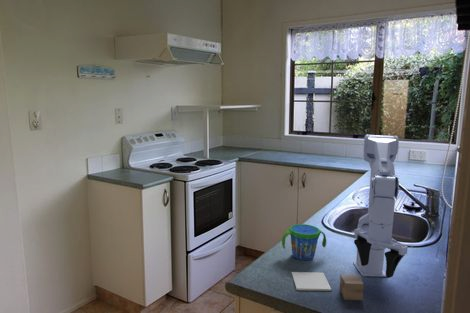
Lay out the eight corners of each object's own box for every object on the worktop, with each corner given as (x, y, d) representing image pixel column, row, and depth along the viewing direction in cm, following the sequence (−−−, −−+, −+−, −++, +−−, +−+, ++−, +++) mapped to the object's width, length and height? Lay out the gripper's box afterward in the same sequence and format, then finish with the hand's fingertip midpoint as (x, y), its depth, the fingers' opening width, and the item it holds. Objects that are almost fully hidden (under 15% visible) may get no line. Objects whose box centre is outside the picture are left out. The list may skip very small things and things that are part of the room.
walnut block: (339, 290, 107) (340, 274, 106) (356, 291, 107) (357, 274, 106) (344, 300, 102) (345, 283, 101) (362, 300, 102) (363, 283, 101)
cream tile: (291, 273, 116) (291, 271, 116) (323, 274, 116) (323, 272, 116) (296, 290, 106) (296, 288, 106) (331, 290, 106) (331, 289, 106)
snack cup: (321, 250, 134) (322, 223, 133) (329, 263, 124) (331, 234, 122) (278, 250, 134) (279, 223, 132) (283, 263, 123) (285, 234, 122)
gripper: (348, 216, 99) (344, 263, 101) (397, 233, 87) (392, 286, 89) (365, 211, 103) (361, 257, 105) (414, 228, 91) (408, 279, 93)
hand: (376, 270), depth 97 cm, fingers open, 7 cm apart
